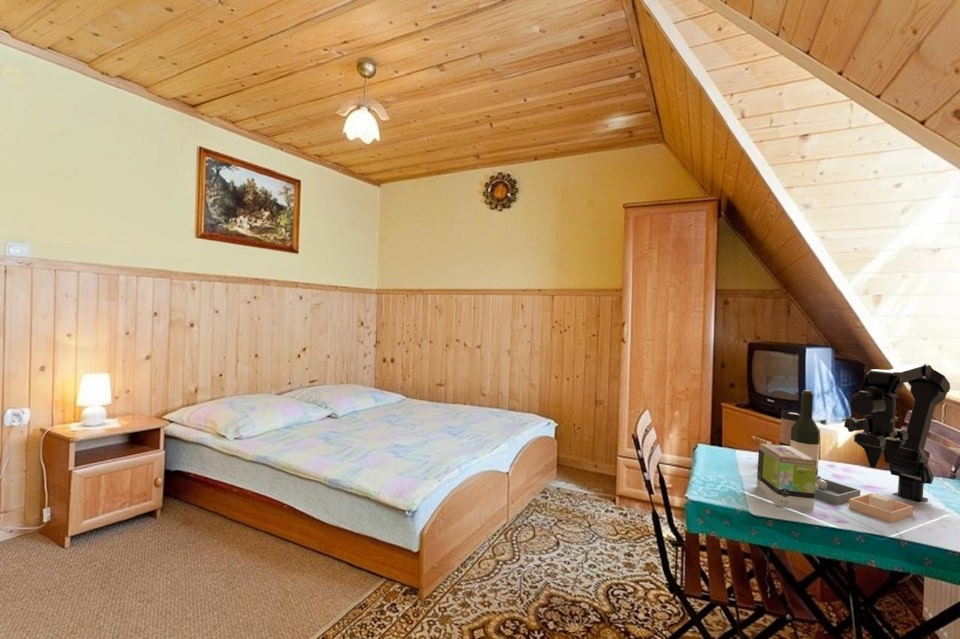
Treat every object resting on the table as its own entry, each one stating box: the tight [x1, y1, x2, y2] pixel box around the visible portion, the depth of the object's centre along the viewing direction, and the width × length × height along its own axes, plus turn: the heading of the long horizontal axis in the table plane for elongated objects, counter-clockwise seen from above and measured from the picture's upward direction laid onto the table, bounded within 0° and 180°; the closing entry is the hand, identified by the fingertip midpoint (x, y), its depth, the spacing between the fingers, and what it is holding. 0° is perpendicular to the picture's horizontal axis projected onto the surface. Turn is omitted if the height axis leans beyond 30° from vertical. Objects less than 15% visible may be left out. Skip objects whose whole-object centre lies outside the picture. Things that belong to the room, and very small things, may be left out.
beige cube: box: [869, 493, 894, 512], centre depth 131 cm, size 4×4×4 cm
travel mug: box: [779, 409, 801, 446], centre depth 171 cm, size 8×8×20 cm
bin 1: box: [814, 475, 861, 505], centre depth 147 cm, size 13×22×4 cm, turn 27°
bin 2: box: [848, 492, 914, 523], centre depth 131 cm, size 12×10×3 cm
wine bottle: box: [790, 389, 821, 476], centre depth 159 cm, size 8×8×30 cm
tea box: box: [756, 443, 817, 510], centre depth 139 cm, size 15×10×15 cm, turn 170°
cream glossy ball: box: [815, 479, 827, 490], centre depth 146 cm, size 3×3×3 cm
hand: (880, 465), depth 137 cm, fingers open, 9 cm apart
